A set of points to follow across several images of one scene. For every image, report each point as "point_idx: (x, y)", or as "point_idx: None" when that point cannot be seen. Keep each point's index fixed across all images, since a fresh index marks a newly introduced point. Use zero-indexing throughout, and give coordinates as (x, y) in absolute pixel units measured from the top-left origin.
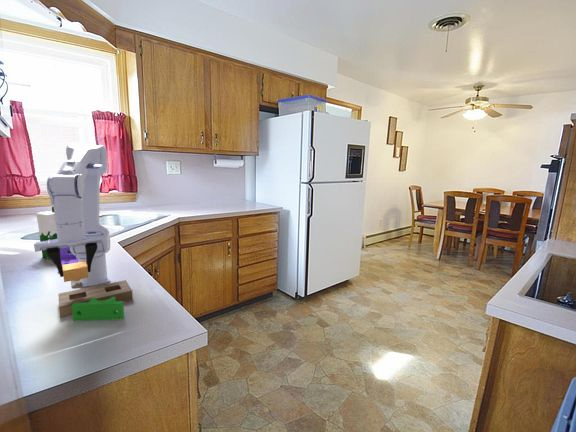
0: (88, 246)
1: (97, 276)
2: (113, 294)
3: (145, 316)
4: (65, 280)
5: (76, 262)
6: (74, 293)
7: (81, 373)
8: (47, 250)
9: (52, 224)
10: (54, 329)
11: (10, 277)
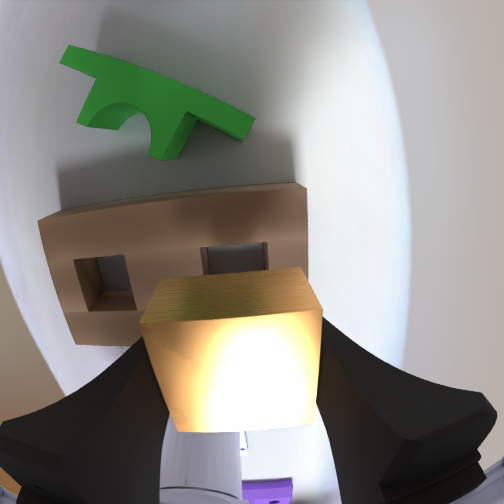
0: (67, 497)
1: None
2: (95, 212)
3: (44, 64)
4: (294, 271)
5: (253, 501)
6: None
7: None
8: (475, 468)
9: None
10: (307, 99)
11: None
